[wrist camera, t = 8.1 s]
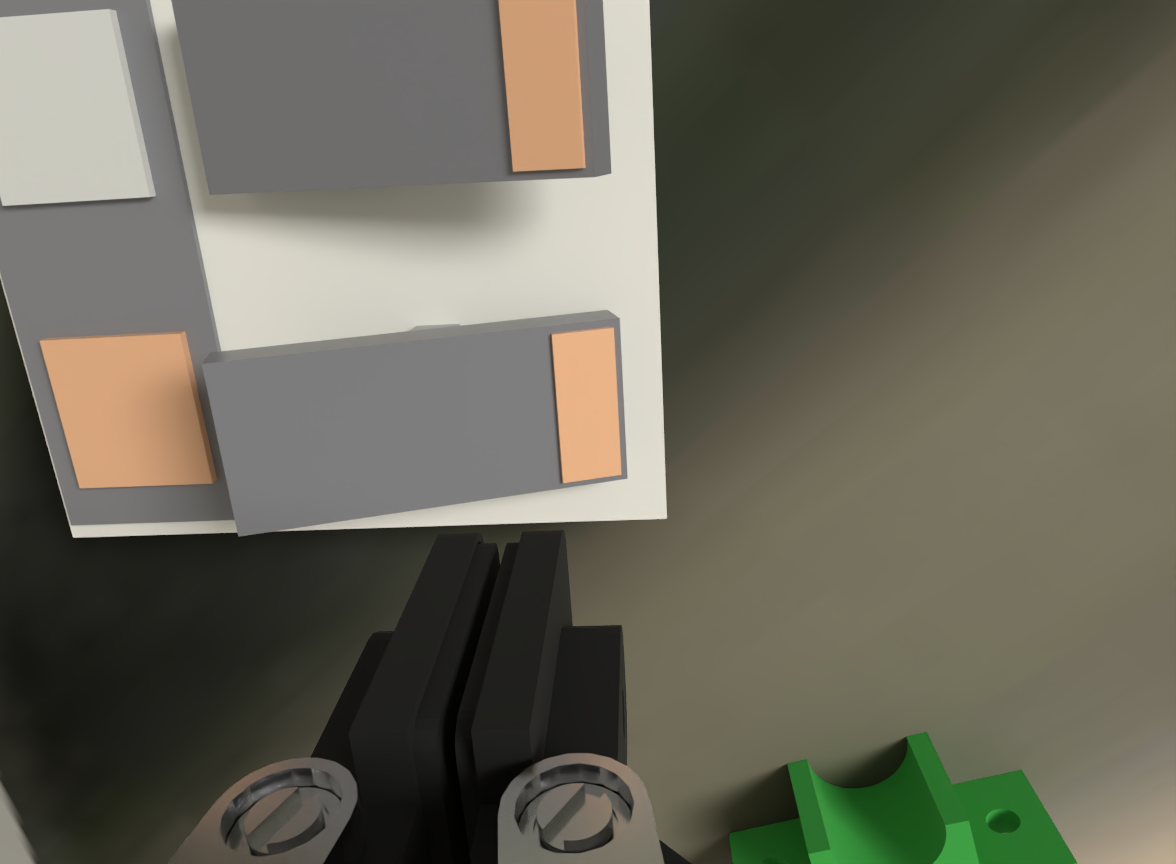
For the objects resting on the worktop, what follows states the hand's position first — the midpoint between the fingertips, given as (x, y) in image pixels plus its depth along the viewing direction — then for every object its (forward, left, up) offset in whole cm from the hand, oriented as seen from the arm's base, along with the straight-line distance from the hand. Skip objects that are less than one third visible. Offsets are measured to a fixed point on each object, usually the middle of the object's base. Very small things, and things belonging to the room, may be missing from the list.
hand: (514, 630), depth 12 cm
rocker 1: (-8, -4, -11) cm, 14 cm away
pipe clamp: (+18, +10, -17) cm, 27 cm away
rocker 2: (0, -4, -11) cm, 12 cm away
